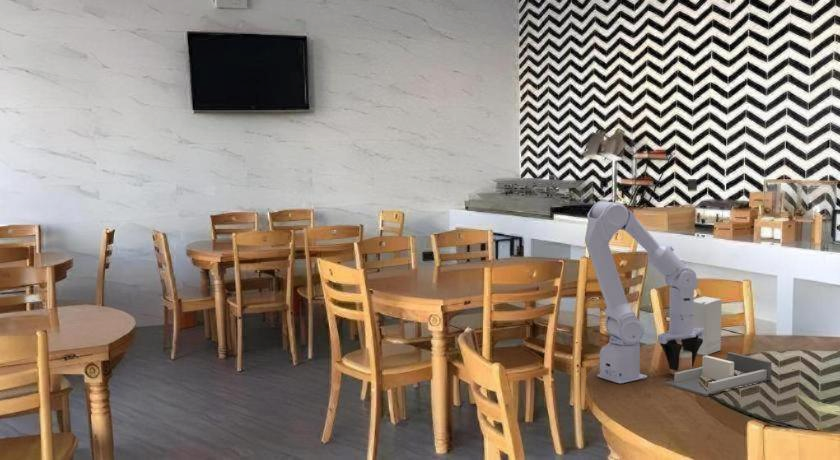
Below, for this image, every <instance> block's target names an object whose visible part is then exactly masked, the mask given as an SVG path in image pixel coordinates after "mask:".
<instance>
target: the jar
mask: <svg viewBox="0 0 840 460" xmlns="http://www.w3.org/2000/svg"><path fill="white" fill-rule="evenodd" d="M690 369H693V367H692V352H691V351H688V350H683V349H681V351H680V355H679V365H678V370H672V369H670V374H672V375H673V376H674V373H676V372H681V371H685V370H690Z"/></svg>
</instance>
